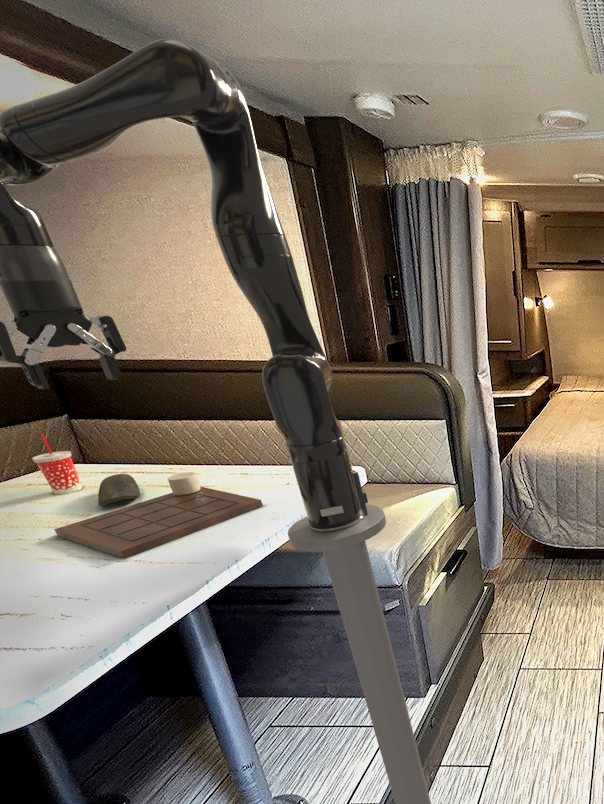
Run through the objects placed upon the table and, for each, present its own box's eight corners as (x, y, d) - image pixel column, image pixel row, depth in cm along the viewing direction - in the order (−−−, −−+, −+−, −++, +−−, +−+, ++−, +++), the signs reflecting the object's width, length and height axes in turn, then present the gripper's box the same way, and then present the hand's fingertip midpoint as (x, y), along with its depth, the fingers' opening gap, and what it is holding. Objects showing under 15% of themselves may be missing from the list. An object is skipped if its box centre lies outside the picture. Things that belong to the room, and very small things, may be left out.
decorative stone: (141, 503, 112) (133, 486, 110) (100, 512, 108) (92, 495, 106) (141, 483, 123) (134, 467, 122) (104, 490, 119) (97, 474, 118)
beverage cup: (58, 488, 122) (31, 432, 116) (91, 483, 124) (67, 429, 119) (43, 497, 116) (14, 439, 111) (78, 492, 119) (52, 435, 114)
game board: (197, 491, 118) (195, 484, 118) (263, 506, 109) (260, 499, 109) (57, 536, 98) (53, 528, 97) (124, 558, 89) (120, 550, 88)
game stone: (193, 486, 117) (187, 470, 115) (205, 488, 115) (199, 473, 114) (168, 493, 113) (162, 478, 111) (181, 496, 111) (175, 480, 110)
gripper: (-25, 278, 70) (29, 393, 76) (107, 278, 82) (145, 377, 88) (-48, 279, 72) (7, 390, 78) (84, 279, 85) (122, 375, 91)
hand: (80, 383), depth 83 cm, fingers open, 8 cm apart
